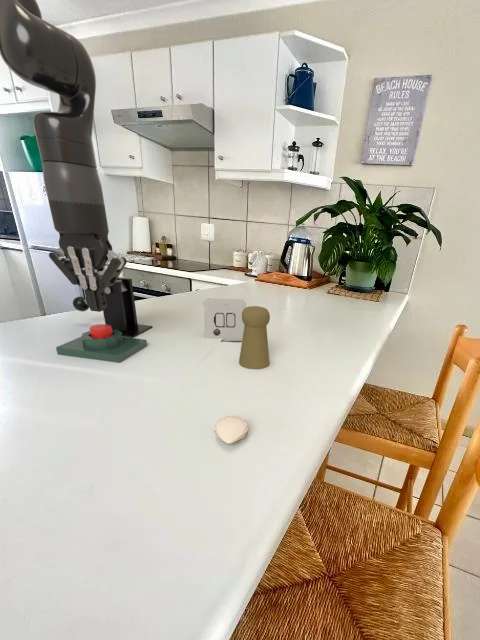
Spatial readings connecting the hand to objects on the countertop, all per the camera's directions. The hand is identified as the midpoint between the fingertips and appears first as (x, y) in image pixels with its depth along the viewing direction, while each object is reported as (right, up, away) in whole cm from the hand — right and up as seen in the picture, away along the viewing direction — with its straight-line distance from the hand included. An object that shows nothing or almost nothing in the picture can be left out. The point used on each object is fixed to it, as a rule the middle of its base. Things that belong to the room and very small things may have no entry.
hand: (98, 310), depth 58 cm
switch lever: (-6, +4, +12) cm, 14 cm away
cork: (+28, -9, +6) cm, 30 cm away
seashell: (+27, -21, -17) cm, 38 cm away
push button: (-1, -4, +2) cm, 5 cm away
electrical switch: (+19, -3, +17) cm, 26 cm away
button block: (-1, -8, +4) cm, 9 cm away
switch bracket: (-3, -2, +15) cm, 15 cm away
